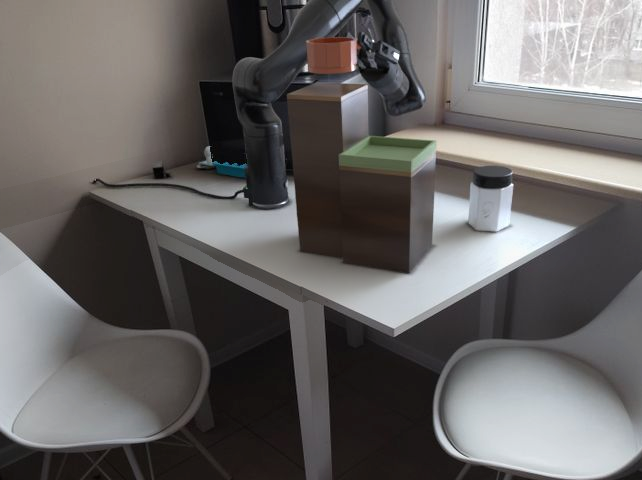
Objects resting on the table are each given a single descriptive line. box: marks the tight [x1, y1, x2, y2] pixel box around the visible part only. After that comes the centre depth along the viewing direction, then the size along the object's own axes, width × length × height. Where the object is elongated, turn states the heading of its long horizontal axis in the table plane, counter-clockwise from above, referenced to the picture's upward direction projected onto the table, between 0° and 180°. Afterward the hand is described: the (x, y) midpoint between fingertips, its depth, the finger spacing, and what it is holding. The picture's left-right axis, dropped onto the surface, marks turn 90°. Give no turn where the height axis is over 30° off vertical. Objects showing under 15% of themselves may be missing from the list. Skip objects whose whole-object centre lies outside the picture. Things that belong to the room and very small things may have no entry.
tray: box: [339, 135, 437, 172], centre depth 116 cm, size 14×14×2 cm
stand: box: [286, 81, 437, 274], centre depth 120 cm, size 14×25×31 cm, turn 64°
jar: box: [467, 165, 514, 232], centre depth 134 cm, size 9×8×12 cm
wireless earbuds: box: [152, 160, 172, 179], centre depth 179 cm, size 5×7×3 cm, turn 13°
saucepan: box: [306, 36, 361, 75], centre depth 118 cm, size 18×9×5 cm, turn 154°
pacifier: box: [196, 145, 216, 170], centre depth 183 cm, size 7×6×6 cm
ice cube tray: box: [212, 161, 247, 179], centre depth 178 cm, size 12×20×3 cm, turn 58°
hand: (352, 36), depth 120 cm, fingers closed on saucepan, 2 cm apart
